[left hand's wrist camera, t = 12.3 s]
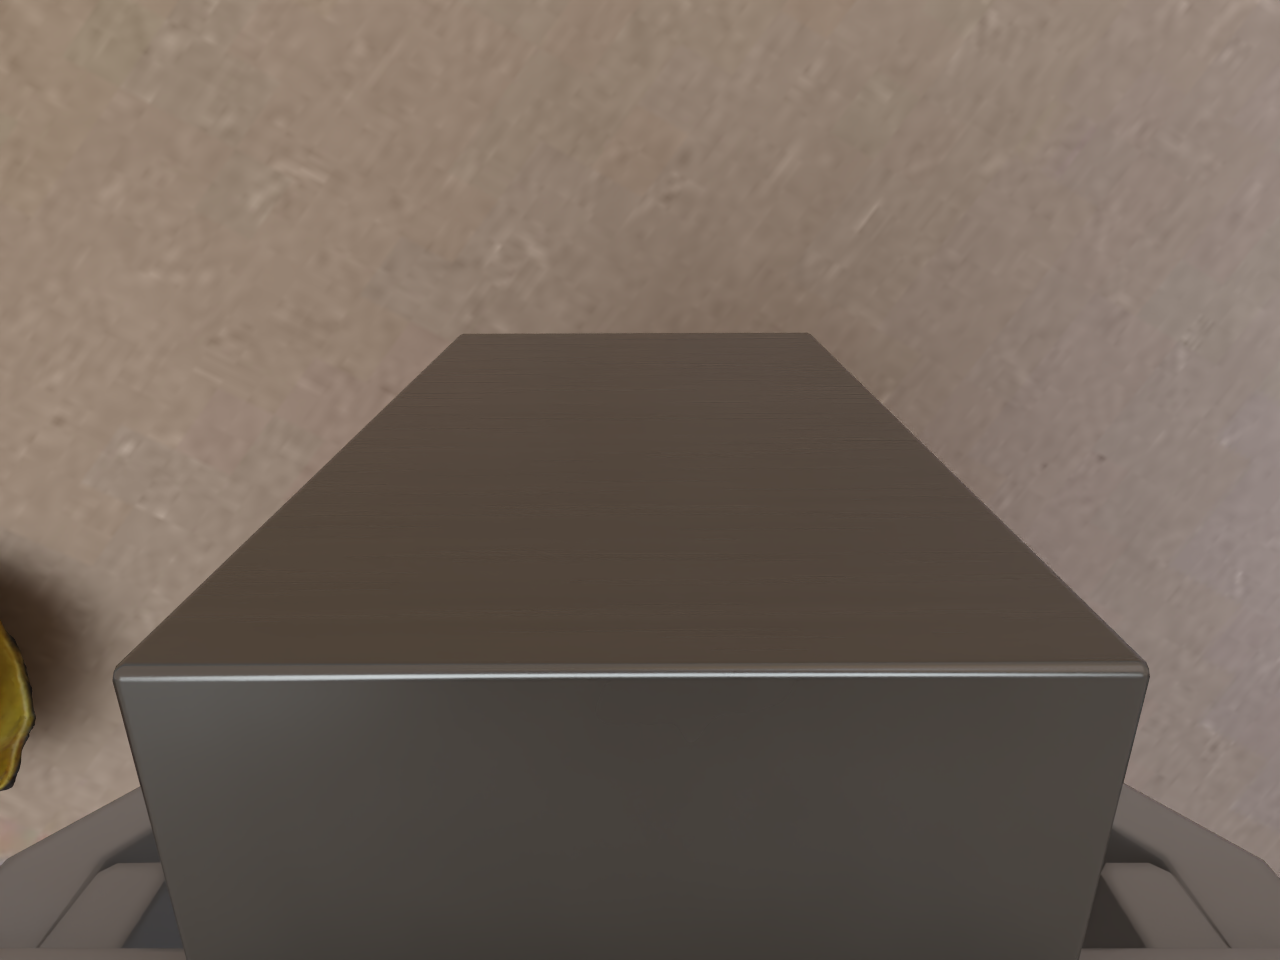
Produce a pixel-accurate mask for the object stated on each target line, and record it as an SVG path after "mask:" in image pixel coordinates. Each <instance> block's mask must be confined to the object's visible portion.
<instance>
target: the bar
mask: <svg viewBox="0 0 1280 960" xmlns="http://www.w3.org/2000/svg"><path fill="white" fill-rule="evenodd" d="M1149 678H1150V674H1149V668H1148V666H1147V663H1146V662H1145V661H1144V660H1143V659H1142V658H1141V657H1140V656H1139V655H1138V654H1137V653H1136V652H1135V651H1134V650H1133V649H1132V648H1131V647H1130V646H1129V645H1128V644H1127V643H1126V642H1125V641H1124V640H1123V639H1122V638H1121V637H1120V636H1119V635H1118V634H1117V633H1116V632H1115V631H1114V630H1113V629H1112V628H1110V627H1109V626H1108V625H1107V624H1106V623H1105V622H1104V621H1103V620H1102V619H1101V618H1100V617H1099V616H1098V615H1097V614H1096V613H1095V612H1094V611H1093V610H1092V609H1091V608H1090V607H1089V606H1088V605H1087V604H1086V603H1085V602H1084V601H1083V600H1082V599H1081V598H1080V597H1079V596H1078V595H1077V594H1076V593H1075V592H1074V591H1073V590H1072V589H1071V588H1070V587H1069V586H1067V585H1066V584H1065V583H1064V582H1063V581H1062V580H1061V579H1060V578H1059V577H1058V576H1057V575H1056V574H1055V573H1054V572H1053V571H1052V570H1051V569H1050V568H1049V567H1048V566H1047V565H1046V564H1045V563H1044V562H1043V561H1042V560H1041V559H1040V558H1039V557H1038V556H1037V555H1036V554H1035V553H1034V552H1033V551H1032V550H1031V549H1030V548H1029V547H1028V546H1027V545H1026V544H1025V543H1023V542H1022V541H1021V540H1020V539H1019V538H1018V537H1017V536H1016V535H1015V534H1014V533H1013V532H1012V531H1011V530H1010V529H1009V528H1008V527H1007V526H1006V525H1005V524H1004V523H1003V522H1002V521H1001V520H1000V519H999V518H998V517H997V516H996V515H995V514H994V513H993V512H992V511H991V510H990V509H989V508H988V507H987V506H986V505H985V504H984V503H983V502H982V501H980V500H979V499H978V498H977V497H976V496H975V495H974V494H973V493H972V492H971V491H970V490H969V489H968V488H967V487H966V486H965V485H964V484H963V483H962V482H961V481H960V480H959V479H958V478H957V477H956V476H955V475H954V474H953V473H952V472H951V471H950V470H949V469H948V468H947V467H946V466H945V465H944V464H943V463H942V462H941V461H940V460H939V459H937V458H936V457H935V456H934V455H933V454H932V453H931V452H930V451H929V450H928V449H927V448H926V447H925V446H924V445H923V444H922V443H921V442H920V441H919V440H918V439H917V438H916V437H915V436H914V435H913V434H912V433H911V432H910V431H909V430H908V429H907V428H906V427H905V426H904V425H903V424H902V423H901V422H900V421H899V420H898V419H897V418H896V417H895V416H893V415H892V414H891V413H890V412H889V411H888V410H887V409H886V408H885V407H884V406H883V405H882V404H881V403H880V402H879V401H878V400H877V399H876V398H875V397H874V396H873V395H872V394H871V393H870V392H869V391H868V390H867V389H866V388H865V387H864V386H863V385H862V384H861V383H860V382H859V381H858V380H857V379H856V378H855V377H854V376H853V375H852V374H850V373H849V372H848V371H847V370H846V369H845V368H844V367H843V366H842V365H841V364H840V363H839V362H838V361H837V360H836V359H835V358H834V357H833V356H832V355H831V354H830V353H829V352H828V351H827V350H826V349H825V348H824V347H823V346H822V345H821V344H820V343H819V342H818V341H817V340H816V339H815V338H814V337H813V336H812V335H811V334H808V333H605V334H462V335H460V336H459V337H458V338H457V339H456V340H455V341H454V342H453V343H452V344H451V345H449V346H448V347H447V348H446V349H445V350H444V351H443V352H442V353H441V354H440V355H439V356H438V357H437V358H436V359H435V360H434V361H433V362H432V363H431V364H430V365H429V366H428V367H427V368H426V369H425V370H423V371H422V372H421V373H420V374H419V375H418V376H417V377H416V378H415V379H414V380H413V381H412V382H411V383H410V384H409V385H408V386H407V387H406V388H405V389H404V390H403V391H402V392H401V393H400V394H399V395H398V396H396V397H395V398H394V399H393V400H392V401H391V402H390V403H389V404H388V405H387V406H386V407H385V408H384V409H383V410H382V411H381V412H380V413H379V414H378V415H377V416H376V417H375V418H374V419H373V420H372V421H370V422H369V423H368V424H367V425H366V426H365V427H364V428H363V429H362V430H361V431H360V432H359V433H358V434H357V435H356V436H355V437H354V438H353V439H352V440H351V441H350V442H349V443H348V444H347V445H346V446H345V447H343V448H342V449H341V450H340V451H339V452H338V453H337V454H336V455H335V456H334V457H333V458H332V459H331V460H330V461H329V462H328V463H327V464H326V465H325V466H324V467H323V468H322V469H321V470H320V471H319V472H317V473H316V474H315V475H314V476H313V477H312V478H311V479H310V480H309V481H308V482H307V483H306V484H305V485H304V486H303V487H302V488H301V489H300V490H299V491H298V492H297V493H296V494H295V495H294V496H293V497H292V498H290V499H289V500H288V501H287V502H286V503H285V504H284V505H283V506H282V507H281V508H280V509H279V510H278V511H277V512H276V513H275V514H274V515H273V516H272V517H271V518H270V519H269V520H268V521H267V522H266V523H264V524H263V525H262V526H261V527H260V528H259V529H258V530H257V531H256V532H255V533H254V534H253V535H252V536H251V537H250V538H249V539H248V540H247V541H246V542H245V543H244V544H243V545H242V546H241V547H240V548H239V549H237V550H236V551H235V552H234V553H233V554H232V555H231V556H230V557H229V558H228V559H227V560H226V561H225V562H224V563H223V564H222V565H221V566H220V567H219V568H218V569H217V570H216V571H215V572H214V573H213V574H211V575H210V576H209V577H208V578H207V579H206V580H205V581H204V582H203V583H202V584H201V585H200V586H199V587H198V588H197V589H196V590H195V591H194V592H193V593H192V594H191V595H190V596H189V597H188V598H187V599H186V600H184V601H183V602H182V603H181V604H180V605H179V606H178V607H177V608H176V609H175V610H174V611H173V612H172V613H171V614H170V615H169V616H168V617H167V618H166V619H165V620H164V621H163V622H162V623H161V624H160V625H158V626H157V627H156V628H155V629H154V630H153V631H152V632H151V633H150V634H149V635H148V636H147V637H146V638H145V639H144V640H143V641H142V642H141V643H140V644H139V645H138V646H137V647H136V648H135V649H134V650H133V651H131V652H130V653H129V654H128V655H127V656H126V657H125V658H124V659H123V660H122V661H121V662H120V663H119V664H118V665H117V666H116V668H115V670H114V674H113V684H114V688H115V692H116V695H117V699H118V703H119V707H120V710H121V714H122V718H123V722H124V726H125V729H126V733H127V737H128V741H129V744H130V748H131V752H132V756H133V760H134V763H135V767H136V771H137V775H138V778H139V782H140V786H141V790H142V794H143V797H144V801H145V805H146V809H147V813H148V816H149V820H150V824H151V828H152V831H153V835H154V839H155V843H156V847H157V850H158V854H159V858H160V862H161V865H162V869H163V873H164V877H165V881H166V884H167V888H168V892H169V896H170V899H171V903H172V907H173V911H174V915H175V918H176V922H177V926H178V930H179V933H180V937H181V941H182V945H183V949H184V952H185V956H186V960H1079V958H1080V954H1081V950H1082V946H1083V942H1084V938H1085V934H1086V930H1087V926H1088V922H1089V918H1090V914H1091V910H1092V906H1093V902H1094V898H1095V894H1096V890H1097V886H1098V882H1099V878H1100V874H1101V870H1102V866H1103V862H1104V858H1105V854H1106V850H1107V846H1108V842H1109V838H1110V834H1111V830H1112V826H1113V822H1114V818H1115V814H1116V810H1117V806H1118V802H1119V798H1120V794H1121V790H1122V786H1123V782H1124V778H1125V774H1126V770H1127V766H1128V762H1129V758H1130V754H1131V750H1132V746H1133V742H1134V738H1135V734H1136V730H1137V726H1138V722H1139V718H1140V714H1141V710H1142V706H1143V702H1144V698H1145V694H1146V690H1147V686H1148V682H1149Z"/></svg>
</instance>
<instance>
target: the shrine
mask: <svg viewBox="0 0 1280 960" xmlns="http://www.w3.org/2000/svg"><path fill="white" fill-rule="evenodd" d="M35 719H36V716H35V713H34V709H33V701H32V687H31V685H30V682H29V679H28V674H27V671H26V665H25V663H24V660H23V658H22V656H21V652H20V650H19V648H18V646H17V644H16V641H15V639H14V638H13V637H12V636H11V635H9V634H8V633H7V632H6V630H5V629H4V627H3V625H2V623H1V620H0V791H3V790H7V789H9V788H12V786H13V785H14V782H15V779H16V776H17V773H18V771H19V769H20V764H21V753H22V749H23V747H24V745H25V743H26V741H27V739H28V737H29V733H30V731H31V729H33V726H34V725H35Z"/></svg>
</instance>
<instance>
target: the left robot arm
mask: <svg viewBox="0 0 1280 960" xmlns="http://www.w3.org/2000/svg"><path fill="white" fill-rule="evenodd" d="M0 960H186V956H185V952H184V949H183V945H182V941H181V937H180V933H179V930H178V926H177V922H176V918H175V915H174V911H173V907H172V903H171V899H170V896H169V892H168V888H167V884H166V881H165V877H164V873H163V869H162V865H161V862H160V858H159V854H158V850H157V847H156V843H155V839H154V835H153V831H152V828H151V824H150V820H149V816H148V813H147V809H146V805H145V801H144V797H143V794H142V790H141V786H140V787H138V788H136V789H135V790H133V791H131V792H129V793H127V794H125V795H124V796H122V797H120V798H118V799H116V800H114V801H113V802H111V803H109V804H107V805H105V806H103V807H102V808H100V809H98V810H96V811H94V812H92V813H91V814H89V815H87V816H85V817H83V818H81V819H80V820H78V821H76V822H74V823H72V824H70V825H69V826H67V827H65V828H63V829H61V830H59V831H58V832H56V833H54V834H52V835H50V836H48V837H47V838H45V839H43V840H41V841H39V842H37V843H36V844H34V845H32V846H30V847H28V848H26V849H25V850H23V851H21V852H19V853H17V854H15V855H14V856H12V857H10V858H8V859H7V860H6V861H5V862H4V863H3V864H2V865H1V866H0ZM1079 960H1280V878H1279V877H1278V876H1277V875H1276V874H1275V873H1274V872H1273V870H1272V869H1271V868H1270V867H1269V866H1268V865H1267V864H1266V863H1265V861H1264V860H1262V859H1260V858H1258V857H1256V856H1255V855H1253V854H1251V853H1249V852H1247V851H1246V850H1244V849H1242V848H1240V847H1238V846H1237V845H1235V844H1233V843H1231V842H1229V841H1228V840H1226V839H1224V838H1222V837H1220V836H1218V835H1217V834H1215V833H1213V832H1211V831H1209V830H1208V829H1206V828H1204V827H1202V826H1200V825H1199V824H1197V823H1195V822H1193V821H1191V820H1190V819H1188V818H1186V817H1184V816H1182V815H1180V814H1179V813H1177V812H1175V811H1173V810H1171V809H1170V808H1168V807H1166V806H1164V805H1162V804H1161V803H1159V802H1157V801H1155V800H1153V799H1151V798H1150V797H1148V796H1146V795H1144V794H1142V793H1141V792H1139V791H1137V790H1135V789H1133V788H1132V787H1130V786H1128V785H1126V784H1124V783H1123V786H1122V790H1121V794H1120V798H1119V802H1118V806H1117V810H1116V814H1115V818H1114V822H1113V826H1112V830H1111V834H1110V838H1109V842H1108V846H1107V850H1106V854H1105V858H1104V862H1103V866H1102V870H1101V874H1100V878H1099V882H1098V886H1097V890H1096V894H1095V898H1094V902H1093V906H1092V910H1091V914H1090V918H1089V922H1088V926H1087V930H1086V934H1085V938H1084V942H1083V946H1082V950H1081V954H1080V958H1079Z"/></svg>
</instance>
